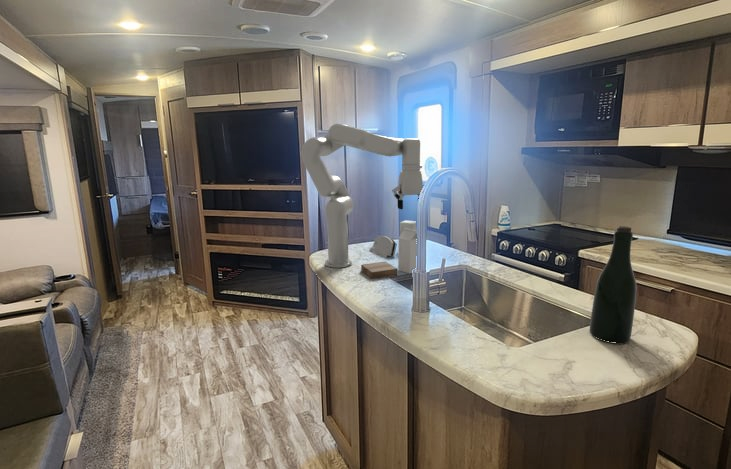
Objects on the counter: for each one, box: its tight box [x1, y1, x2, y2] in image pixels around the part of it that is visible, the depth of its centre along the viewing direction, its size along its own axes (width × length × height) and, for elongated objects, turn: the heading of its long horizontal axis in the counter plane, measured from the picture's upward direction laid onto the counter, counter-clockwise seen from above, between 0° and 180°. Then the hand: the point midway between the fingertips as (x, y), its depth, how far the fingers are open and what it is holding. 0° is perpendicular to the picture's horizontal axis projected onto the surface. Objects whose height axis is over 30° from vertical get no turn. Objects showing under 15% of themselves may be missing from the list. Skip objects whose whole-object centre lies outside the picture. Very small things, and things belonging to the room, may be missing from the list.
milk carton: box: [397, 228, 417, 274], centre depth 179 cm, size 7×7×19 cm
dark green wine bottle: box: [588, 226, 638, 344], centre depth 115 cm, size 10×10×33 cm
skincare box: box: [399, 219, 416, 236], centre depth 214 cm, size 8×7×16 cm
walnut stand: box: [360, 261, 399, 280], centre depth 177 cm, size 12×12×3 cm
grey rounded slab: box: [369, 235, 398, 259], centre depth 209 cm, size 17×5×10 cm, turn 31°
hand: (410, 208), depth 175 cm, fingers open, 9 cm apart
